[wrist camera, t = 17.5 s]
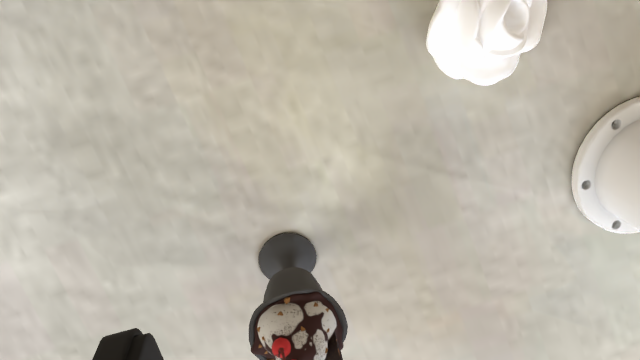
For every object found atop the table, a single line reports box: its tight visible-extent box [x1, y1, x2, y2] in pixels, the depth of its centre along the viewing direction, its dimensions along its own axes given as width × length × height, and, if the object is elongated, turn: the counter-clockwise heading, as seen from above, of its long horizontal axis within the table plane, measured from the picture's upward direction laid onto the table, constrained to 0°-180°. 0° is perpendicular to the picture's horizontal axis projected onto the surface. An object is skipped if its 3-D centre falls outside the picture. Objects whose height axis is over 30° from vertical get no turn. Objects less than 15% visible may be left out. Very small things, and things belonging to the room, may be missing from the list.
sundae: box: [249, 233, 348, 360], centre depth 36 cm, size 7×7×15 cm
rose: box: [426, 0, 547, 85], centre depth 36 cm, size 10×4×10 cm
